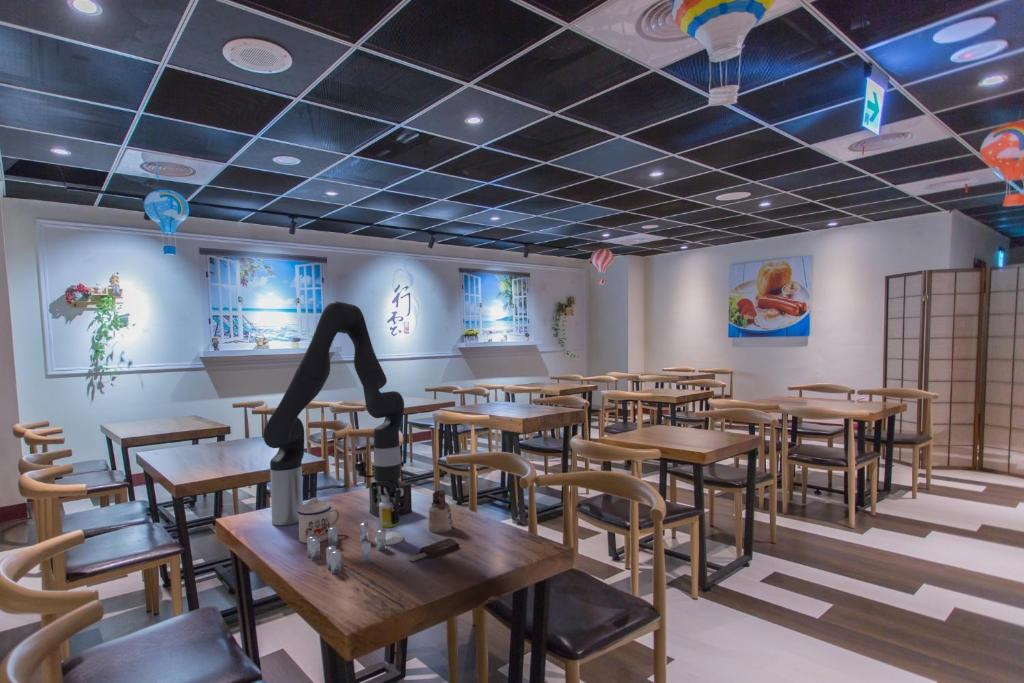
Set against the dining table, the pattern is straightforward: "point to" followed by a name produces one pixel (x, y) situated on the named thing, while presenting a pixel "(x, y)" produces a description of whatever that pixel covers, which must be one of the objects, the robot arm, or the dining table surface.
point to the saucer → (392, 538)
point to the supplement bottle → (386, 515)
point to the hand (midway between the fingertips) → (389, 520)
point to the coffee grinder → (374, 508)
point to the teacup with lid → (315, 519)
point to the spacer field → (335, 555)
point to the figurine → (440, 513)
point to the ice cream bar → (436, 549)
